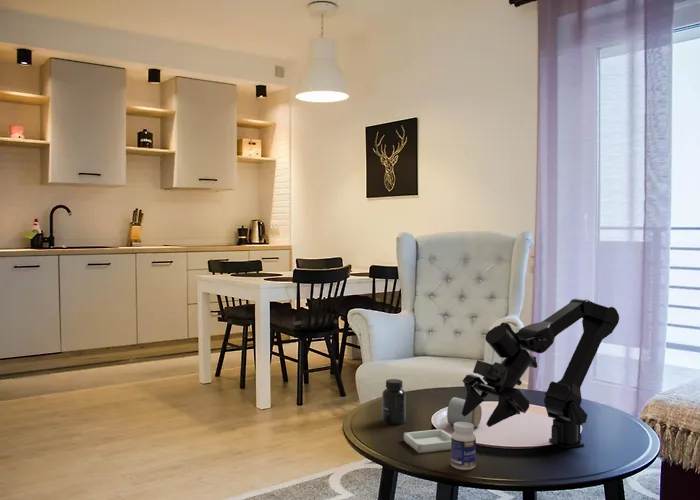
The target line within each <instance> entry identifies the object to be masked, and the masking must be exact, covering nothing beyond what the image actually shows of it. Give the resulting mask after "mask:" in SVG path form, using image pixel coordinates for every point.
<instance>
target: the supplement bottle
mask: <svg viewBox="0 0 700 500" xmlns="http://www.w3.org/2000/svg"><path fill="white" fill-rule="evenodd" d="M403 386H404V385H403V381H402V380H401V379H397V378H391V379H386V381H385V389H384V390H383V391H382V395H381V397H382V399H381V402H382V403H381V405H382V406H381V421H382V422H383V424H386V425H391V426H399V425H402V424H404V423H405V422H406V413H407V411H406V409H407V408H406V407H407V406H406V405H407V404H406V402H407V400H406V399H407V398H406V396H407V395H406V391H405V390H404V389H403V388H404V387H403Z"/></svg>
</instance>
